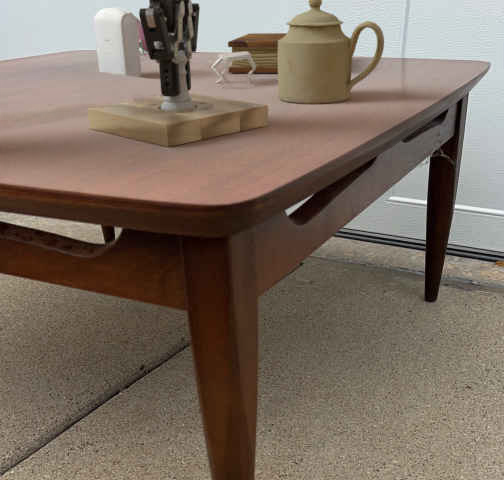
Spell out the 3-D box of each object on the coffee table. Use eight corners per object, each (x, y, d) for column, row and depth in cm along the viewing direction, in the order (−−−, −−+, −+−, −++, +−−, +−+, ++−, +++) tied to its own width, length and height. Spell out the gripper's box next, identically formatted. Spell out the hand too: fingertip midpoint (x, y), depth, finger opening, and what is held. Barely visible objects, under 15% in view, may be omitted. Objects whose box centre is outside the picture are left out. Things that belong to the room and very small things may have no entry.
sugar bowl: (367, 90, 111) (372, -12, 104) (382, 102, 101) (389, -10, 94) (274, 93, 110) (274, -10, 104) (281, 105, 100) (281, -8, 94)
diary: (325, 73, 130) (326, 41, 128) (228, 73, 133) (227, 42, 131) (333, 60, 151) (334, 31, 148) (249, 60, 154) (249, 32, 151)
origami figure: (212, 79, 126) (211, 51, 124) (258, 79, 125) (258, 50, 123) (205, 89, 115) (203, 58, 113) (255, 89, 115) (254, 58, 113)
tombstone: (95, 76, 134) (88, 7, 128) (114, 73, 136) (108, 6, 131) (126, 80, 127) (119, 8, 121) (145, 78, 129) (139, 7, 124)
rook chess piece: (156, 121, 85) (151, 53, 82) (165, 115, 89) (161, 49, 86) (192, 122, 84) (188, 53, 81) (199, 115, 88) (196, 49, 85)
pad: (168, 147, 77) (166, 124, 76) (89, 128, 87) (87, 108, 86) (268, 125, 87) (268, 105, 86) (187, 110, 97) (186, 92, 96)
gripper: (159, -60, 85) (169, 84, 92) (108, -65, 73) (124, 102, 80) (217, -62, 83) (222, 85, 91) (174, -68, 71) (185, 104, 78)
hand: (176, 92), depth 85 cm, fingers closed on rook chess piece, 3 cm apart
